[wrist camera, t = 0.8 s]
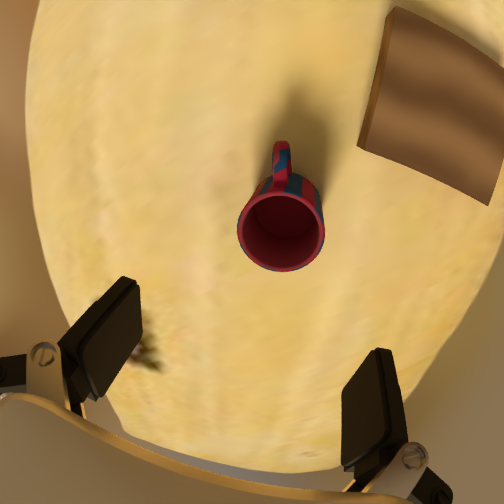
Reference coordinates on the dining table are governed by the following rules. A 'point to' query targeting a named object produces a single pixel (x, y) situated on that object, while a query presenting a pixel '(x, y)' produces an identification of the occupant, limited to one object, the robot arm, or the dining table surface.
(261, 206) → the mug
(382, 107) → the walnut block
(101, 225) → the dining table surface
